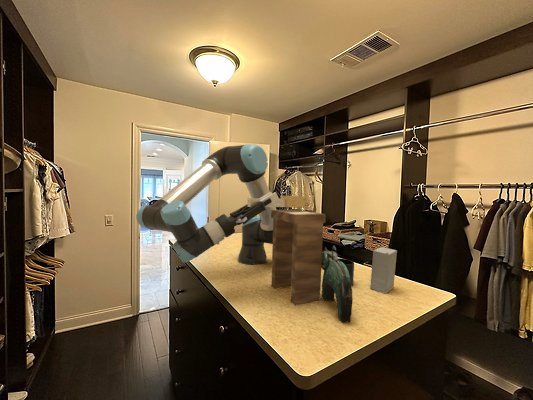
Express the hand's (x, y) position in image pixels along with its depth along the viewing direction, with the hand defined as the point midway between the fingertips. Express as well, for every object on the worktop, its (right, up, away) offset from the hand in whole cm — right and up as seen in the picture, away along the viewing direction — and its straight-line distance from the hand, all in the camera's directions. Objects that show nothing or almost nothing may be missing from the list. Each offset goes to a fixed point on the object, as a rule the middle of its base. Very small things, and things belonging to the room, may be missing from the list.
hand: (274, 195), depth 94 cm
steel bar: (+1, -4, +1) cm, 4 cm away
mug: (+27, -36, +11) cm, 47 cm away
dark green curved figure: (+20, -37, -11) cm, 43 cm away
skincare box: (+43, -37, +6) cm, 57 cm away
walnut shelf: (+7, -36, 0) cm, 37 cm away
